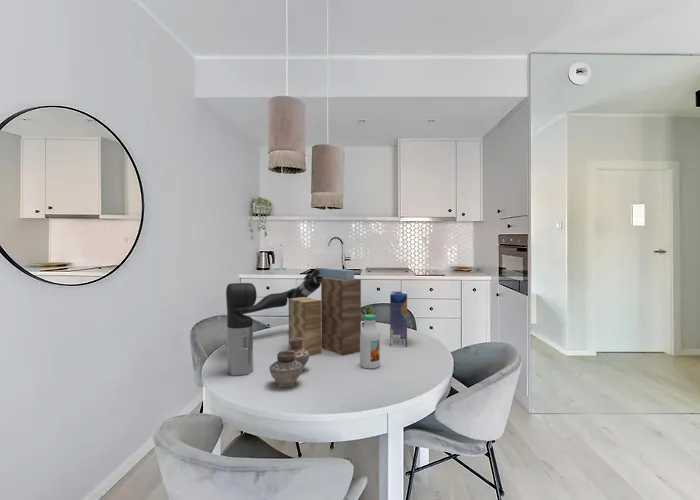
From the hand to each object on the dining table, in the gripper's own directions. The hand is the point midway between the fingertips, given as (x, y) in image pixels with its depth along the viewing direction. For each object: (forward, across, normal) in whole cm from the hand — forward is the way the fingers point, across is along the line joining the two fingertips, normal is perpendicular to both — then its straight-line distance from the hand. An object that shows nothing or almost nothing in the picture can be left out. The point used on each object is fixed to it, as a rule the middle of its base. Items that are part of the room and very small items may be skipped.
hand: (326, 270), depth 183 cm
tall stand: (-8, 0, +36) cm, 37 cm away
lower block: (-15, -14, +32) cm, 38 cm away
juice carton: (0, +28, +41) cm, 49 cm away
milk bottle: (+14, -5, +48) cm, 51 cm away
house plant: (-19, +27, +29) cm, 44 cm away
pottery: (+6, -35, +44) cm, 57 cm away
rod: (+4, 0, +6) cm, 7 cm away
